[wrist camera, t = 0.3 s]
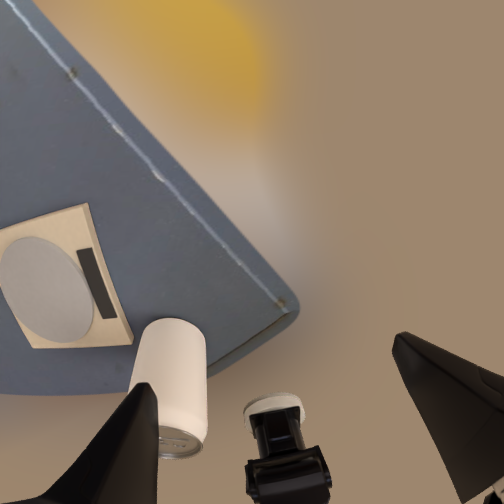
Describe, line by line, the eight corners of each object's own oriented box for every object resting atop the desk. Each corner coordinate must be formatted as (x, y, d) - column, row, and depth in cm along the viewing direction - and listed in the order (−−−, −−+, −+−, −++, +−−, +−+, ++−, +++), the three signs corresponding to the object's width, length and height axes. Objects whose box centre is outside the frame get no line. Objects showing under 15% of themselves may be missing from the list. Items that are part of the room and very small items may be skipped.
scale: (134, 337, 26) (131, 348, 25) (36, 342, 25) (31, 351, 24) (88, 202, 20) (79, 208, 19) (-12, 233, 19) (-22, 240, 18)
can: (143, 309, 25) (115, 414, 14) (211, 321, 26) (215, 430, 16) (142, 356, 27) (123, 453, 17) (201, 366, 29) (203, 465, 18)
